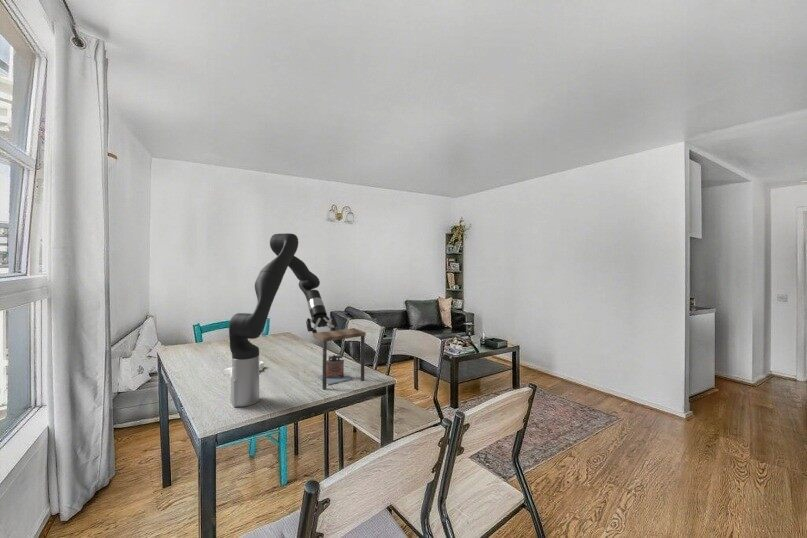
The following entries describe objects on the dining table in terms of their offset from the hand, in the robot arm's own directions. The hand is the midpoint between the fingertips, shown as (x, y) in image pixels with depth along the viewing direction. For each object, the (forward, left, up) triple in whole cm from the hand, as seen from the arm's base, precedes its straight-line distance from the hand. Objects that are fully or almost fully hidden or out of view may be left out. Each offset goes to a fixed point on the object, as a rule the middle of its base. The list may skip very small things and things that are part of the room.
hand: (325, 336), depth 159 cm
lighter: (+1, -9, -17) cm, 19 cm away
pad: (+1, -9, -17) cm, 20 cm away
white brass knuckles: (-31, +23, -18) cm, 42 cm away
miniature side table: (+1, -14, -17) cm, 22 cm away
